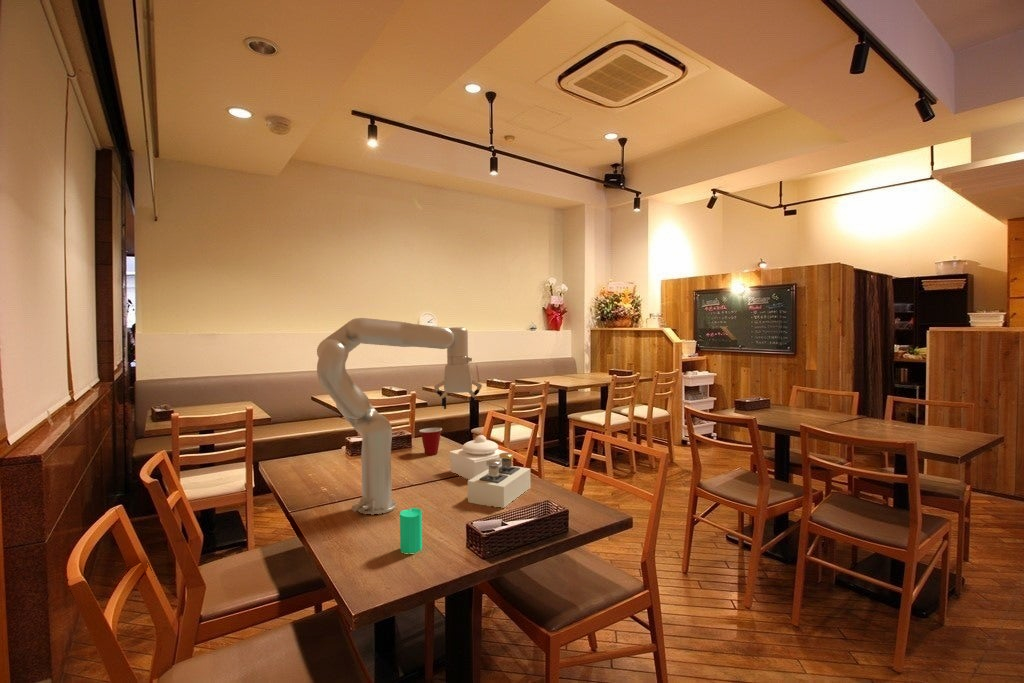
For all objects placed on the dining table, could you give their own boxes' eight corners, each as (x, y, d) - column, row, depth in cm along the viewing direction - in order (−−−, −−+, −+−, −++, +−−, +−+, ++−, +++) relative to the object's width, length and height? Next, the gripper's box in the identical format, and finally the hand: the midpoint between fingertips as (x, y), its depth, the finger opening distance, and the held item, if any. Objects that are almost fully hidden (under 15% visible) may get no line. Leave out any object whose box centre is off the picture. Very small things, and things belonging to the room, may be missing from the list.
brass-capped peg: (509, 479, 174) (509, 457, 174) (497, 477, 176) (496, 455, 176) (515, 474, 179) (515, 453, 178) (503, 473, 181) (503, 452, 181)
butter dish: (474, 483, 187) (474, 442, 186) (449, 472, 201) (449, 434, 200) (509, 474, 198) (509, 435, 197) (483, 464, 212) (483, 428, 211)
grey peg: (496, 487, 165) (496, 464, 165) (483, 485, 167) (483, 462, 167) (503, 483, 170) (503, 460, 169) (490, 480, 172) (490, 458, 172)
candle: (423, 544, 135) (423, 502, 134) (420, 554, 129) (420, 510, 128) (402, 544, 135) (401, 502, 134) (398, 555, 129) (397, 511, 128)
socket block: (503, 508, 160) (503, 485, 160) (467, 502, 166) (467, 479, 166) (530, 488, 180) (530, 467, 180) (497, 483, 186) (497, 462, 186)
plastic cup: (435, 449, 236) (434, 425, 235) (446, 454, 228) (446, 429, 227) (415, 453, 229) (414, 428, 228) (426, 458, 221) (426, 432, 220)
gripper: (481, 360, 179) (481, 405, 180) (434, 360, 177) (435, 407, 178) (481, 361, 172) (482, 409, 172) (433, 362, 170) (433, 410, 171)
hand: (458, 408), depth 175 cm, fingers open, 9 cm apart
